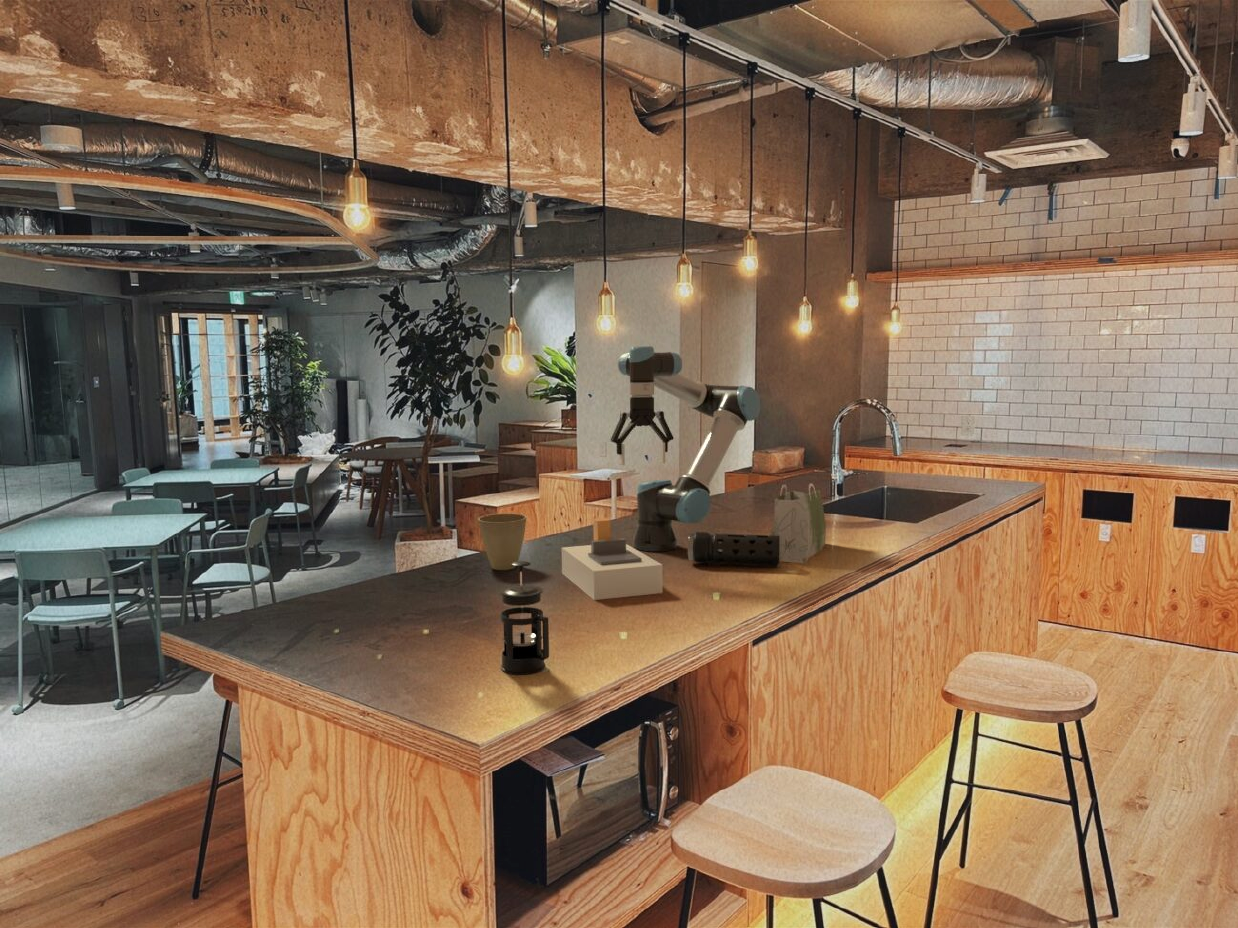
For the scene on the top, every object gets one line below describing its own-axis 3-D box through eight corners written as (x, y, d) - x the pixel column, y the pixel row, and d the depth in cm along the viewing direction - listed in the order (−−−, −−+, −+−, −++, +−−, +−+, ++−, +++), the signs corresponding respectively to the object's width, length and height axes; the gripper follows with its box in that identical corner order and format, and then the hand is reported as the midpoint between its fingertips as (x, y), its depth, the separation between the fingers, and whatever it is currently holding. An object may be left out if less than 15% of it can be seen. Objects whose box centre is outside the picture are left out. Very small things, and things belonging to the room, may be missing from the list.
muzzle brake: (778, 571, 275) (778, 537, 274) (687, 567, 281) (687, 535, 279) (779, 564, 284) (779, 531, 283) (691, 560, 290) (691, 529, 289)
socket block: (561, 573, 274) (561, 547, 273) (623, 567, 281) (623, 542, 280) (594, 599, 244) (593, 571, 244) (662, 592, 251) (662, 564, 250)
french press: (489, 669, 192) (486, 563, 189) (517, 656, 200) (514, 554, 197) (533, 679, 185) (530, 570, 183) (560, 666, 193) (558, 561, 190)
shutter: (588, 555, 261) (587, 541, 261) (627, 552, 265) (626, 537, 265) (601, 564, 250) (600, 549, 250) (641, 560, 254) (641, 546, 254)
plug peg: (594, 571, 270) (593, 518, 268) (606, 570, 272) (606, 517, 270) (598, 574, 267) (597, 521, 265) (610, 573, 268) (610, 520, 266)
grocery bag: (787, 541, 318) (788, 476, 315) (827, 544, 313) (828, 477, 310) (764, 560, 289) (765, 489, 286) (807, 564, 284) (808, 491, 281)
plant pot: (489, 561, 291) (487, 512, 289) (533, 562, 288) (532, 513, 286) (472, 572, 277) (471, 521, 275) (518, 574, 274) (517, 522, 272)
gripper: (608, 397, 273) (608, 467, 276) (683, 395, 281) (683, 463, 284) (600, 396, 280) (601, 464, 283) (674, 394, 288) (674, 460, 291)
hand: (642, 463), depth 283 cm, fingers open, 13 cm apart
